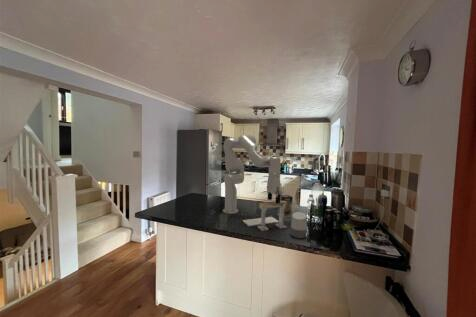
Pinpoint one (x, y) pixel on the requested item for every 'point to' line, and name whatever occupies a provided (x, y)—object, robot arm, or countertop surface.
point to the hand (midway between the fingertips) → (273, 201)
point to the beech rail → (271, 204)
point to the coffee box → (287, 208)
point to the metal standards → (280, 224)
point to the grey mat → (258, 221)
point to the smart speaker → (299, 225)
